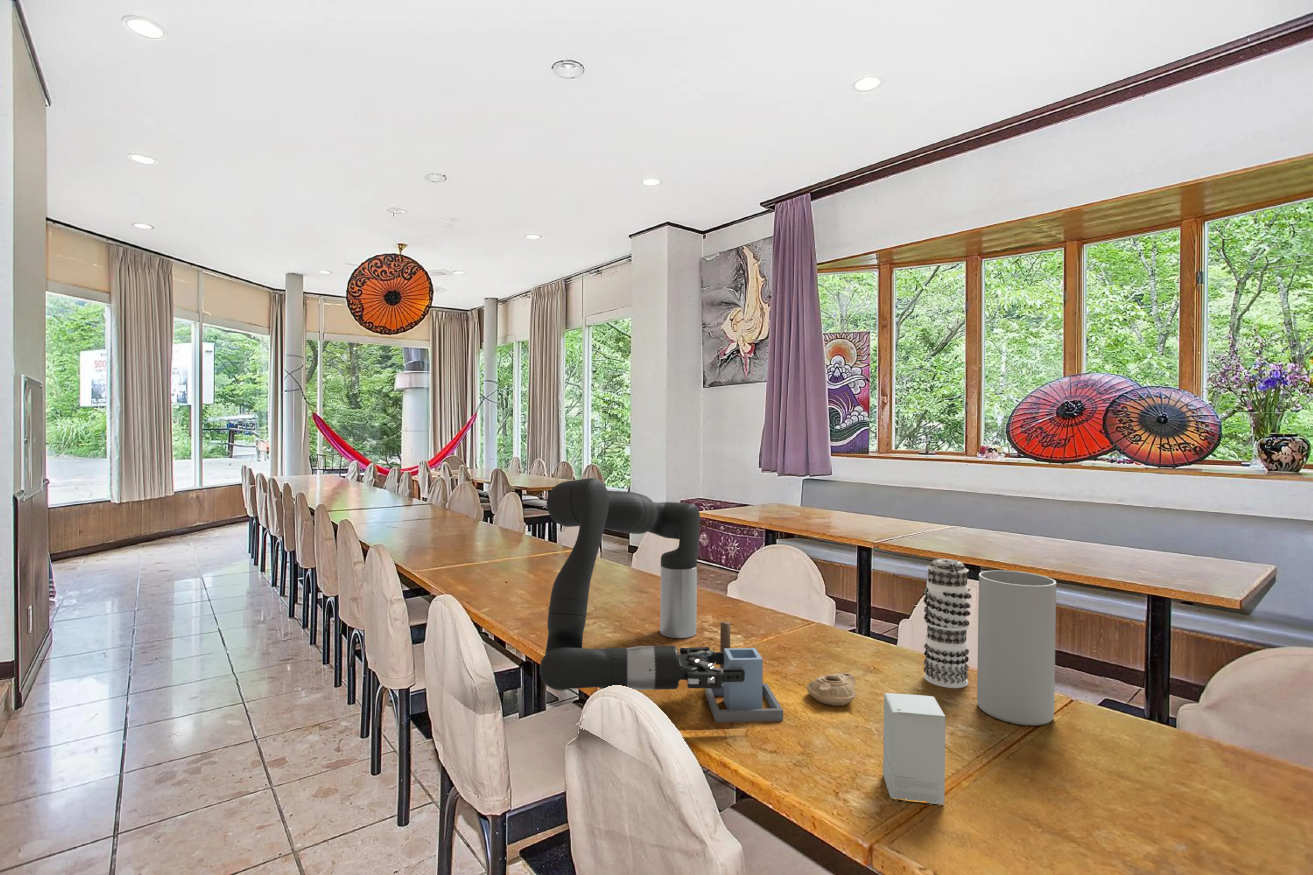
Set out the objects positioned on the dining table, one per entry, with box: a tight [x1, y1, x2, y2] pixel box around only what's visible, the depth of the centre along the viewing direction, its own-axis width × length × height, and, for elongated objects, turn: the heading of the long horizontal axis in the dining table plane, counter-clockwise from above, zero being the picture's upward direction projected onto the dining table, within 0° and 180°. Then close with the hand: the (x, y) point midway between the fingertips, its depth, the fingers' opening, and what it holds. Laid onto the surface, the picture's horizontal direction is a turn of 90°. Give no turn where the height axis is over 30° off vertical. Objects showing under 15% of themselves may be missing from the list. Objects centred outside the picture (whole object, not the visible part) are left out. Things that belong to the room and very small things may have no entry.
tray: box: [704, 682, 784, 723], centre depth 119 cm, size 12×12×3 cm
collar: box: [723, 647, 764, 710], centre depth 119 cm, size 6×6×10 cm
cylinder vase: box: [976, 570, 1057, 727], centre depth 120 cm, size 12×12×25 cm
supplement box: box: [882, 692, 946, 805], centre depth 94 cm, size 7×7×13 cm
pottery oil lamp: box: [806, 672, 857, 707], centre depth 124 cm, size 9×12×7 cm
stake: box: [711, 621, 731, 684], centre depth 131 cm, size 9×9×13 cm
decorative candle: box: [923, 558, 972, 689], centre depth 135 cm, size 9×9×25 cm
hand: (739, 665), depth 119 cm, fingers open, 8 cm apart
